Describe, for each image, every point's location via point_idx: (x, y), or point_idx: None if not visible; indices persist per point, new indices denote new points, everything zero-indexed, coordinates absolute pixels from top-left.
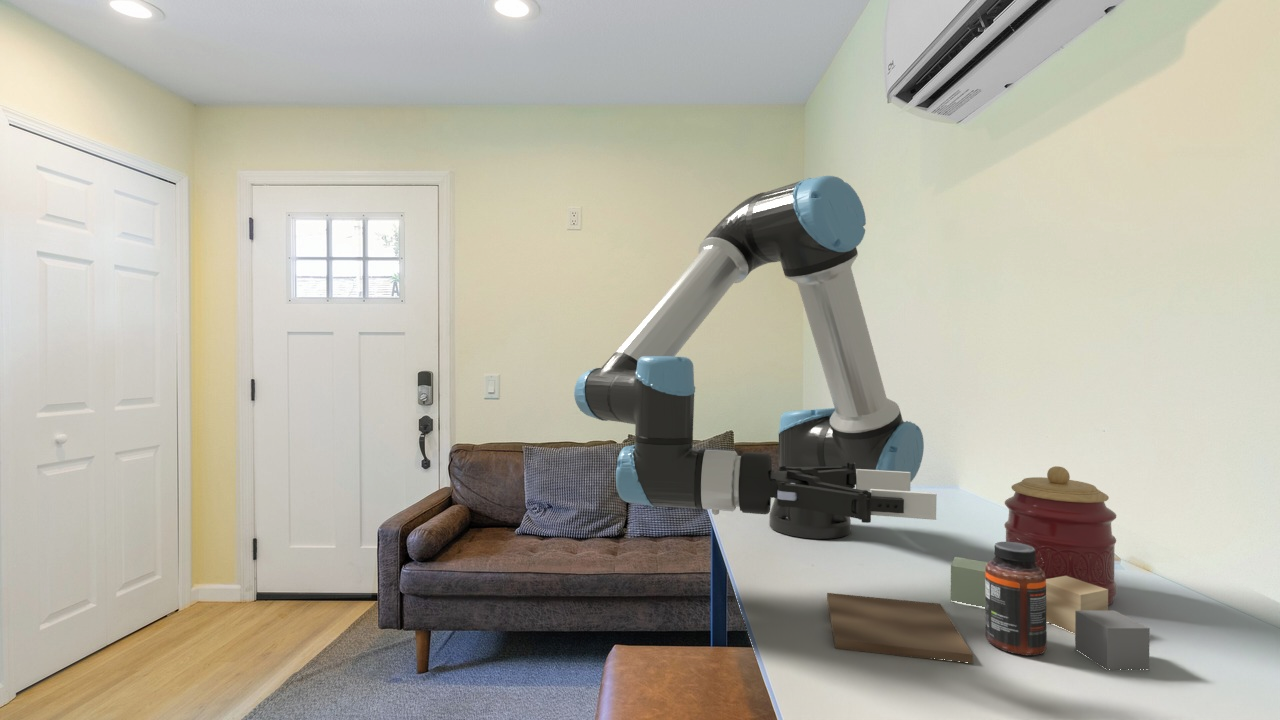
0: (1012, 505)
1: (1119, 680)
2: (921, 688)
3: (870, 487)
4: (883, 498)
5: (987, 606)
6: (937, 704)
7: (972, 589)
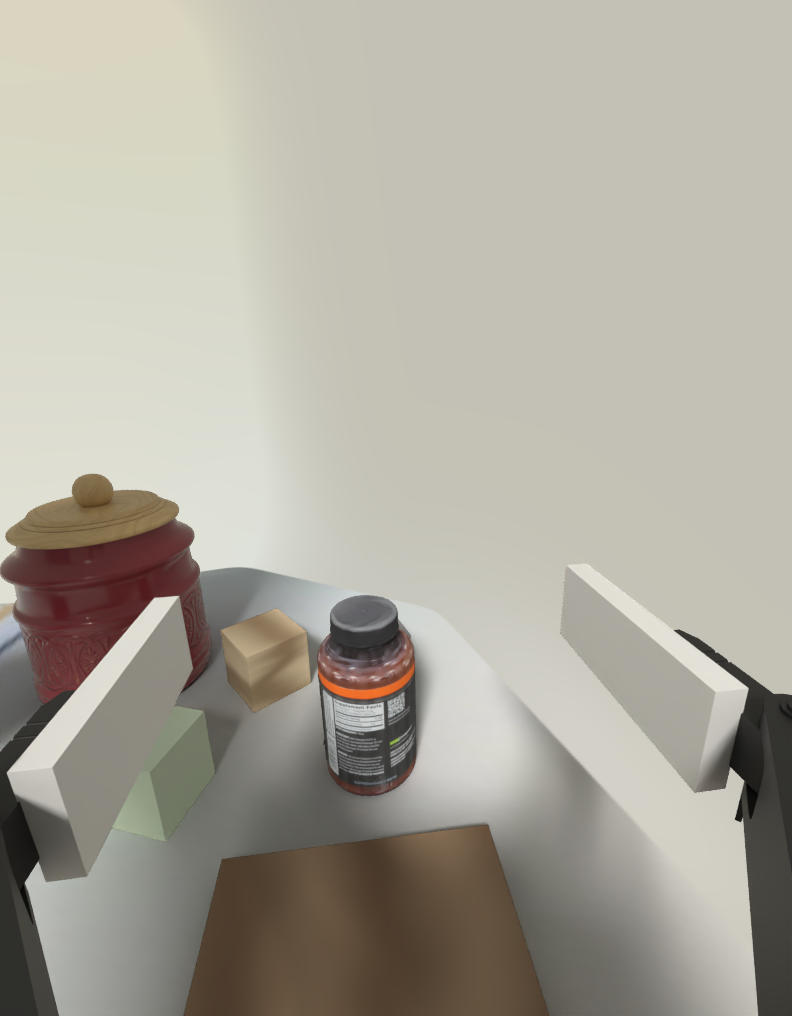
0: (76, 577)
1: (434, 677)
2: (680, 967)
3: (122, 780)
4: (741, 675)
5: (376, 744)
6: (720, 933)
7: (189, 770)
